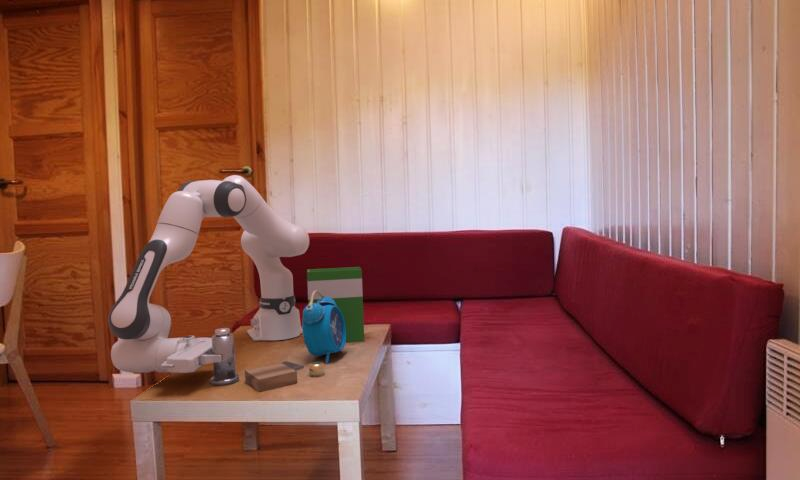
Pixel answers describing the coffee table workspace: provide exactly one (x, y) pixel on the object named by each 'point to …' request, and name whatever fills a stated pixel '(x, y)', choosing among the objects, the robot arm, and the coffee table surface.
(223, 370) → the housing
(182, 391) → the coffee table surface
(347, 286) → the hardback book
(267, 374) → the stand
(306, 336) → the alarm clock
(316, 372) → the brass knob
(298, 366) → the steel plate
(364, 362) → the coffee table surface
